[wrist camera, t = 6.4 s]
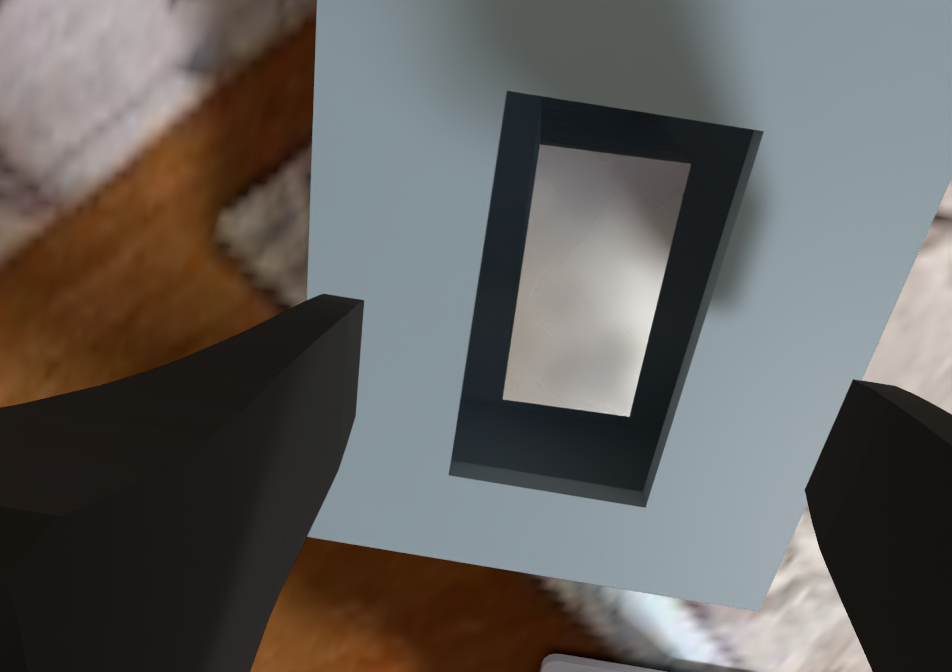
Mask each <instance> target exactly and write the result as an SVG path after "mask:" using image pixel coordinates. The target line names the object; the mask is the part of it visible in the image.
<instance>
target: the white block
mask: <svg viewBox="0 0 952 672" xmlns="http://www.w3.org/2000/svg"><path fill="white" fill-rule="evenodd" d="M690 166H691V163H690V162H689V160H688V159H687V157H686V156H685V155H684V153H683V152H682V150H681V149H680V148H679V146H678V145H677V143H676V142H675V141H674V139H673V138H672V136H671V135H670V134H669V132H668V131H667V129H666V128H665V127H664V125H663V124H662V122H661V121H660V119H659V118H658V117H657V115H656V114H651V113H645V112H639V111H632V110H626V109H619V108H613V107H607V106H600V105H594V104H588V103H581V102H575V101H569V100H562V99H556V98H550V97H543V96H541V103H540V110H539V117H538V124H537V131H536V138H535V145H534V152H533V159H532V166H531V173H530V180H529V187H528V194H527V201H526V208H525V215H524V222H523V229H522V236H521V243H520V250H519V257H518V264H517V271H516V278H515V285H514V292H513V299H512V310H511V320H510V330H509V340H508V350H507V360H506V370H505V380H504V390H503V400H511V401H518V402H525V403H533V404H540V405H547V406H554V407H562V408H569V409H576V410H584V411H591V412H598V413H605V414H613V415H620V416H627V417H629V416H630V412H631V408H632V404H633V400H634V396H635V392H636V388H637V384H638V379H639V375H640V371H641V367H642V363H643V359H644V355H645V351H646V347H647V343H648V338H649V334H650V330H651V326H652V322H653V318H654V314H655V310H656V306H657V301H658V297H659V293H660V289H661V285H662V281H663V277H664V273H665V269H666V265H667V260H668V256H669V252H670V248H671V244H672V240H673V236H674V232H675V228H676V223H677V219H678V215H679V211H680V207H681V203H682V199H683V195H684V191H685V187H686V182H687V178H688V174H689V170H690Z"/></svg>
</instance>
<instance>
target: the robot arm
mask: <svg viewBox="0 0 952 672" xmlns="http://www.w3.org/2000/svg"><path fill="white" fill-rule="evenodd" d="M363 311H364V300H360V299H354V298H348V297H341V296H335V295H329V294H321V295H318V296H316V297H313V298H311V299H309V300H307V301H305V302H303V303H301V304H299V305H297V306H295V307H293V308H291V309H289V310H287V311H285V312H283V313H281V314H279V315H277V316H275V317H273V318H271V319H269V320H267V321H265V322H263V323H261V324H258V325H256V326H254V327H252V328H250V329H248V330H246V331H244V332H242V333H240V334H238V335H236V336H233V337H231V338H229V339H226V340H224V341H222V342H219V343H217V344H215V345H212V346H210V347H208V348H205V349H203V350H201V351H198V352H196V353H194V354H191V355H189V356H187V357H184V358H182V359H179V360H177V361H174V362H171V363H169V364H166V365H163V366H160V367H157V368H155V369H152V370H149V371H146V372H142V373H139V374H136V375H133V376H130V377H126V378H123V379H120V380H117V381H114V382H110V383H107V384H103V385H100V386H95V387H91V388H87V389H83V390H79V391H74V392H70V393H66V394H62V395H57V396H53V397H49V398H45V399H40V400H36V401H32V402H28V403H23V404H18V405H13V406H8V407H2V408H0V672H250V670H251V668H252V665H253V662H254V659H255V656H256V654H257V651H258V648H259V645H260V642H261V639H262V637H263V634H264V631H265V628H266V625H267V623H268V620H269V617H270V615H271V613H272V610H273V608H274V606H275V603H276V601H277V599H278V596H279V594H280V592H281V589H282V587H283V585H284V583H285V581H286V579H287V577H288V575H289V573H290V571H291V569H292V567H293V565H294V562H295V560H296V558H297V556H298V554H299V552H300V550H301V548H302V546H303V544H304V542H305V540H306V538H307V536H308V533H309V531H310V529H311V527H312V525H313V523H314V521H315V519H316V517H317V515H318V513H319V511H320V509H321V506H322V504H323V502H324V500H325V498H326V496H327V494H328V492H329V490H330V487H331V485H332V483H333V481H334V479H335V477H336V475H337V472H338V470H339V467H340V464H341V461H342V458H343V455H344V452H345V449H346V446H347V443H348V440H349V436H350V433H351V430H352V427H353V423H354V420H355V417H356V405H357V391H358V378H359V364H360V351H361V338H362V324H363ZM805 494H806V498H807V502H808V507H809V511H810V515H811V519H812V523H813V527H814V530H815V534H816V538H817V541H818V545H819V548H820V551H821V553H822V556H823V558H824V561H825V563H826V566H827V568H828V570H829V573H830V575H831V577H832V580H833V582H834V584H835V587H836V589H837V591H838V594H839V596H840V598H841V601H842V603H843V605H844V607H845V610H846V612H847V614H848V617H849V619H850V621H851V623H852V626H853V628H854V630H855V632H856V635H857V637H858V639H859V641H860V644H861V646H862V648H863V650H864V653H865V655H866V657H867V660H868V662H869V664H870V666H871V669H872V671H873V672H952V415H951V414H950V413H948V412H946V411H944V410H943V409H941V408H939V407H937V406H935V405H934V404H932V403H930V402H928V401H926V400H924V399H922V398H920V397H919V396H916V395H914V394H912V393H910V392H908V391H906V390H903V389H901V388H899V387H896V386H892V385H885V384H879V383H873V382H867V381H861V380H855V379H853V380H852V383H851V385H850V387H849V389H848V392H847V394H846V396H845V399H844V401H843V403H842V405H841V408H840V410H839V412H838V415H837V417H836V419H835V422H834V424H833V426H832V428H831V431H830V433H829V435H828V438H827V440H826V442H825V444H824V447H823V449H822V451H821V454H820V456H819V458H818V460H817V463H816V465H815V467H814V470H813V472H812V474H811V476H810V479H809V481H808V483H807V486H806V488H805ZM540 672H666V671H660V670H654V669H648V668H642V667H636V666H630V665H624V664H618V663H612V662H606V661H600V660H594V659H588V658H582V657H576V656H570V655H564V654H550V655H548V656H547V657H545V658H544V660H543V661H542V665H541V669H540Z"/></svg>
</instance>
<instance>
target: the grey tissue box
mask: <svg viewBox="0 0 952 672" xmlns="http://www.w3.org/2000/svg"><path fill="white" fill-rule="evenodd" d="M541 96H543V97H550V98H556V99H562V100H569V101H575V102H581V103H588V104H594V105H600V106H607V107H613V108H619V109H626V110H632V111H639V112H645V113H651V114H656V115H657V117H658V118H659V119H660V121H661V122H662V124H663V125H664V127H665V128H666V129H667V131H668V132H669V134H670V135H671V136H672V138H673V139H674V141H675V142H676V143H677V145H678V146H679V148H680V149H681V150H682V152H683V153H684V155H685V156H686V157H687V159H688V160H689V162H690V163H691V166H690V170H689V174H688V178H687V182H686V187H685V191H684V195H683V199H682V203H681V207H680V211H679V215H678V219H677V223H676V228H675V232H674V236H673V240H672V244H671V248H670V252H669V256H668V260H667V265H666V269H665V273H664V277H663V281H662V285H661V289H660V293H659V297H658V301H657V306H656V310H655V314H654V318H653V322H652V326H651V330H650V334H649V338H648V343H647V347H646V351H645V355H644V359H643V363H642V367H641V371H640V375H639V379H638V384H637V388H636V392H635V396H634V400H633V404H632V408H631V412H630V416H629V417H627V416H620V415H613V414H605V413H598V412H591V411H584V410H576V409H569V408H562V407H554V406H547V405H540V404H533V403H525V402H518V401H511V400H503V390H504V380H505V370H506V360H507V350H508V340H509V330H510V320H511V310H512V299H513V292H514V285H515V278H516V271H517V264H518V257H519V250H520V243H521V236H522V229H523V222H524V215H525V208H526V201H527V194H528V187H529V180H530V173H531V166H532V159H533V152H534V145H535V138H536V131H537V124H538V117H539V110H540V103H541ZM951 178H952V0H317V16H316V45H315V74H314V103H313V132H312V161H311V190H310V219H309V248H308V277H307V300H309V299H311V298H313V297H316V296H318V295H321V294H329V295H335V296H341V297H348V298H354V299H360V300H364V311H363V324H362V338H361V351H360V364H359V378H358V391H357V405H356V417H355V420H354V423H353V427H352V430H351V433H350V436H349V440H348V443H347V446H346V449H345V452H344V455H343V458H342V461H341V464H340V467H339V470H338V472H337V475H336V477H335V479H334V481H333V483H332V485H331V487H330V490H329V492H328V494H327V496H326V498H325V500H324V502H323V504H322V506H321V509H320V511H319V513H318V515H317V517H316V519H315V521H314V523H313V525H312V527H311V529H310V531H309V533H308V536H307V537H312V538H318V539H324V540H330V541H336V542H342V543H348V544H354V545H360V546H366V547H372V548H378V549H384V550H390V551H396V552H402V553H408V554H414V555H420V556H426V557H432V558H438V559H444V560H450V561H456V562H462V563H468V564H474V565H480V566H486V567H492V568H498V569H504V570H510V571H516V572H522V573H528V574H535V575H541V576H547V577H553V578H559V579H565V580H571V581H577V582H583V583H589V584H595V585H601V586H607V587H613V588H619V589H625V590H631V591H637V592H643V593H649V594H655V595H661V596H667V597H673V598H679V599H685V600H691V601H697V602H703V603H709V604H715V605H721V606H727V607H733V608H739V609H745V610H751V611H757V612H759V611H760V609H761V606H762V604H763V602H764V600H765V597H766V595H767V593H768V591H769V588H770V586H771V584H772V582H773V579H774V577H775V575H776V572H777V570H778V568H779V566H780V563H781V561H782V559H783V557H784V554H785V552H786V550H787V548H788V545H789V543H790V541H791V539H792V536H793V534H794V532H795V530H796V527H797V525H798V523H799V521H800V518H801V516H802V514H803V512H804V509H805V507H806V505H807V503H808V502H807V498H806V494H805V488H806V486H807V483H808V481H809V479H810V476H811V474H812V472H813V470H814V467H815V465H816V463H817V460H818V458H819V456H820V454H821V451H822V449H823V447H824V444H825V442H826V440H827V438H828V435H829V433H830V431H831V428H832V426H833V424H834V422H835V419H836V417H837V415H838V412H839V410H840V408H841V405H842V403H843V401H844V399H845V396H846V394H847V392H848V389H849V387H850V385H851V383H852V380H853V379H855V380H861V381H862V379H863V376H864V374H865V372H866V370H867V367H868V365H869V363H870V361H871V358H872V356H873V354H874V352H875V349H876V347H877V345H878V342H879V340H880V338H881V336H882V333H883V331H884V329H885V327H886V324H887V322H888V320H889V318H890V315H891V313H892V311H893V309H894V306H895V304H896V302H897V300H898V297H899V295H900V293H901V291H902V288H903V286H904V284H905V282H906V279H907V277H908V275H909V273H910V270H911V268H912V266H913V264H914V261H915V259H916V257H917V255H918V252H919V250H920V248H921V246H922V243H923V241H924V239H925V237H926V234H927V232H928V230H929V227H930V225H931V223H932V221H933V218H934V216H935V214H936V212H937V209H938V207H939V205H940V203H941V200H942V198H943V196H944V194H945V191H946V189H947V187H948V185H949V182H950V180H951Z"/></svg>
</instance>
